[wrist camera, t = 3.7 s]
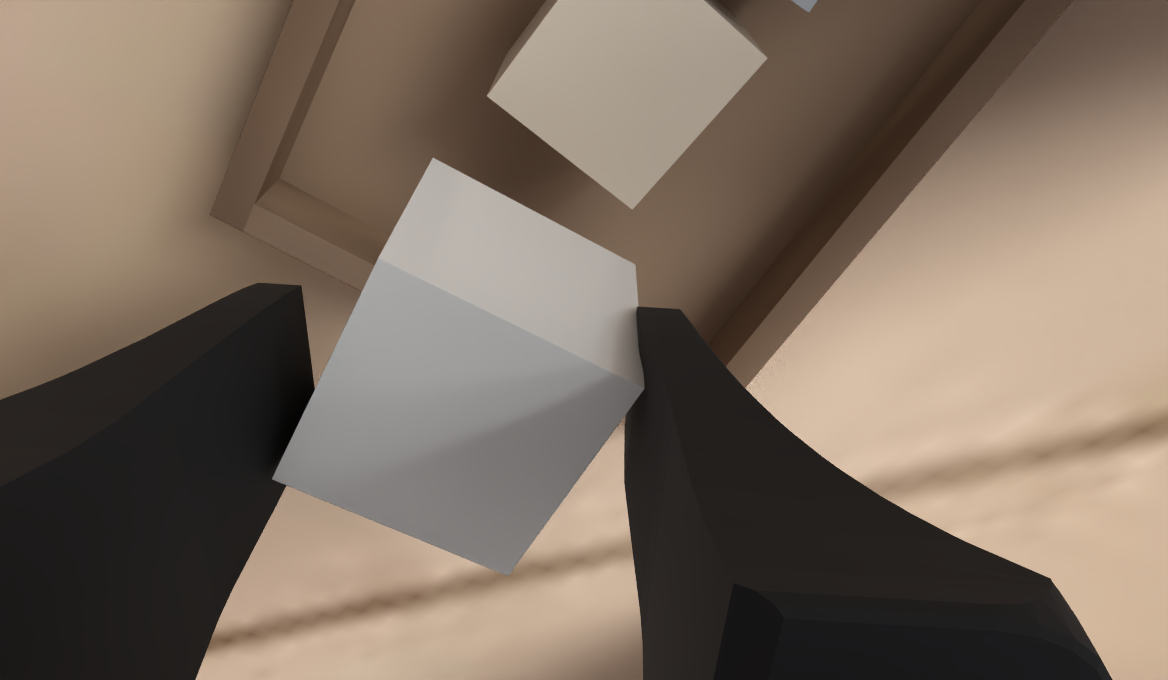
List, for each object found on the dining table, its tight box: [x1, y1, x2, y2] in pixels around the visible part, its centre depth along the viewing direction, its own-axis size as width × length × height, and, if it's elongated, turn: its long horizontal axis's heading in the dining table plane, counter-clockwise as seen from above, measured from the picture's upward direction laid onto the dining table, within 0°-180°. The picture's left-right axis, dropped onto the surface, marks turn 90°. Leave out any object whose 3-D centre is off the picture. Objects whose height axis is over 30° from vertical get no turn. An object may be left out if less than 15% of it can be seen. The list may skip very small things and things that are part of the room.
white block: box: [272, 158, 644, 576], centre depth 12 cm, size 3×4×3 cm
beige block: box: [487, 0, 767, 209], centre depth 16 cm, size 3×4×3 cm
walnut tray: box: [210, 0, 1073, 424], centre depth 17 cm, size 12×16×2 cm
